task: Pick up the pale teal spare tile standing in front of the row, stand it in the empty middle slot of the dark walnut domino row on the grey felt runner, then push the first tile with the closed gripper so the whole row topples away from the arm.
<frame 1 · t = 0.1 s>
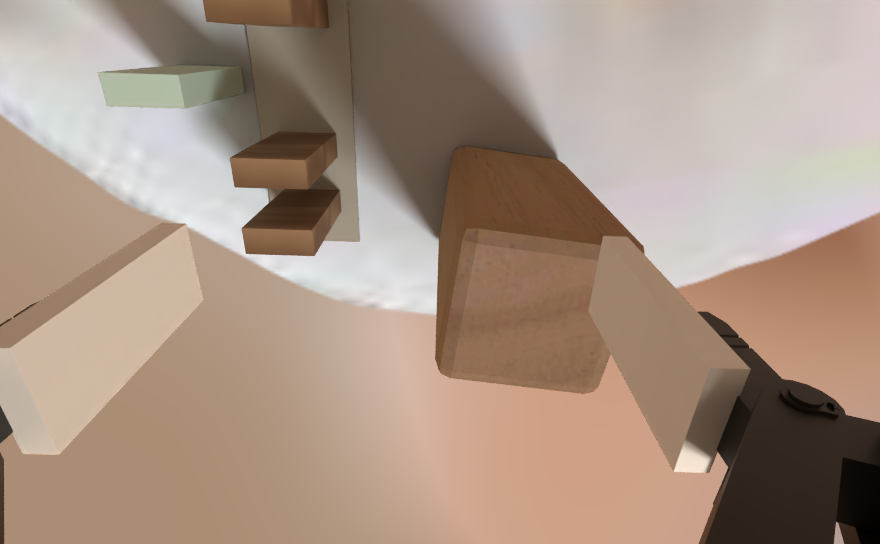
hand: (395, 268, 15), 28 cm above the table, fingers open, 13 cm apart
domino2: (295, 12, 36), resting on runner
block: (498, 203, 43), on the table
runner: (303, 82, 39), on the table
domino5: (313, 199, 43), resting on runner
spare: (212, 79, 39), on the table
domino4: (308, 144, 41), resting on runner
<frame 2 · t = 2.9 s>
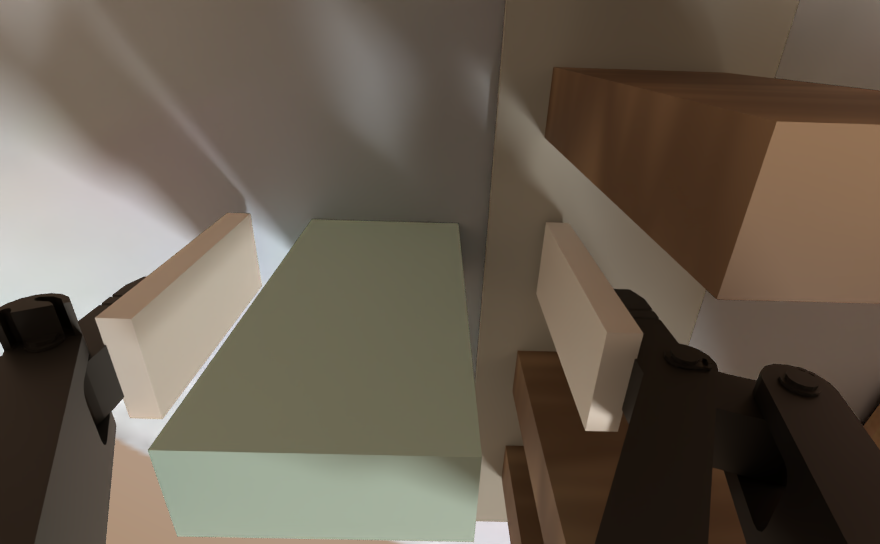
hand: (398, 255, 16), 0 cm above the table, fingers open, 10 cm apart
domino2: (631, 106, 14), resting on runner
runner: (598, 254, 16), on the table
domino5: (559, 463, 21), resting on runner
spare: (385, 248, 16), on the table
domino4: (578, 372, 18), resting on runner
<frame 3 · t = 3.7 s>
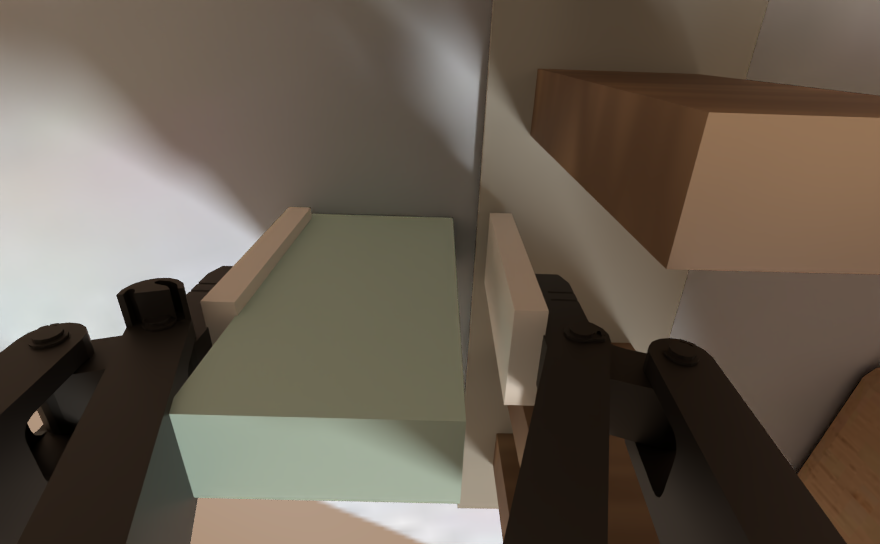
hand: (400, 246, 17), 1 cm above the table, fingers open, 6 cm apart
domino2: (612, 105, 15), resting on runner
runner: (583, 247, 17), on the table
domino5: (548, 450, 21), resting on runner
spare: (383, 241, 17), on the table, touching gripper
domino4: (565, 361, 19), resting on runner
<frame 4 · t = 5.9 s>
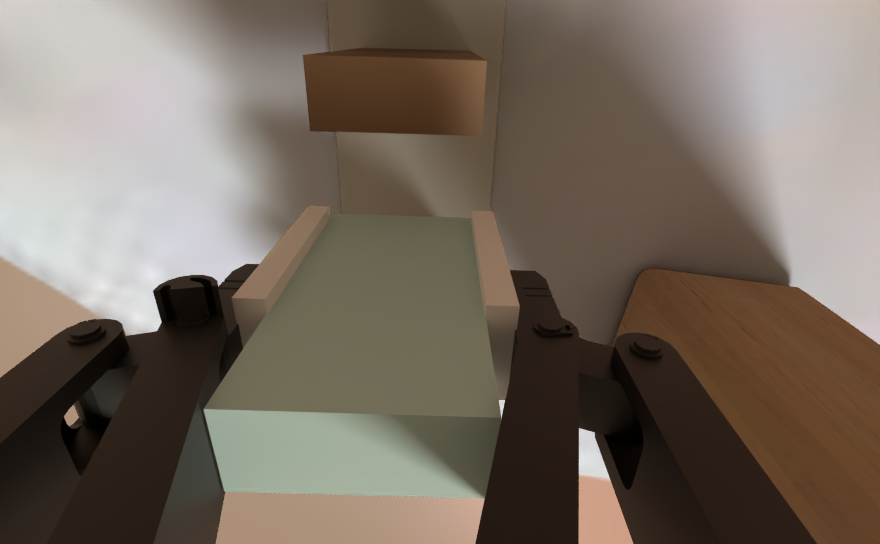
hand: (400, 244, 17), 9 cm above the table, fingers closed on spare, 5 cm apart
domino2: (416, 72, 22), resting on runner
block: (686, 339, 29), on the table
runner: (415, 175, 25), on the table
spare: (402, 241, 17), point 8 cm above the table, touching gripper
when the fingers open (1 cm above the table, at t = 7.6 s): spare stays where it is, resting on runner.
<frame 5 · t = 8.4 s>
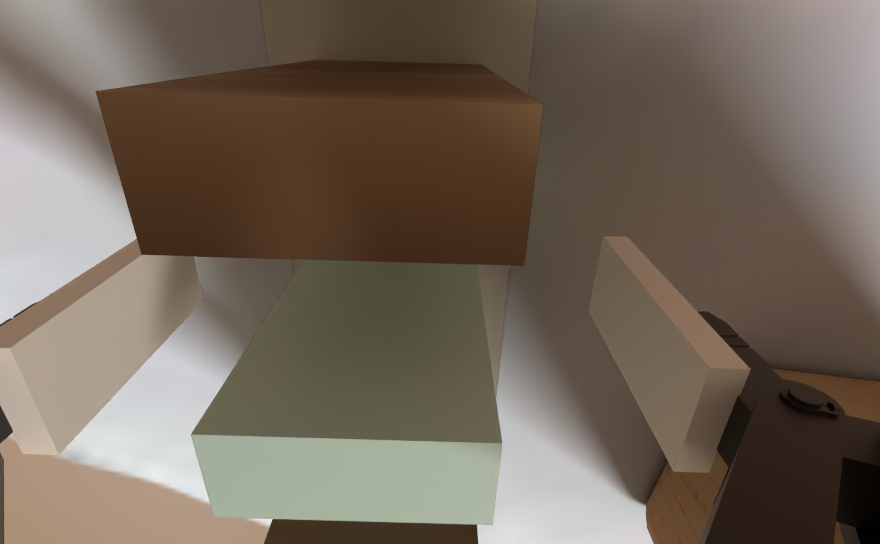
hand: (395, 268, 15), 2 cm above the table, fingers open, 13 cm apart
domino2: (399, 96, 15), resting on runner
block: (768, 448, 22), on the table
runner: (401, 241, 17), on the table
spare: (400, 248, 17), resting on runner
domino4: (402, 357, 19), resting on runner
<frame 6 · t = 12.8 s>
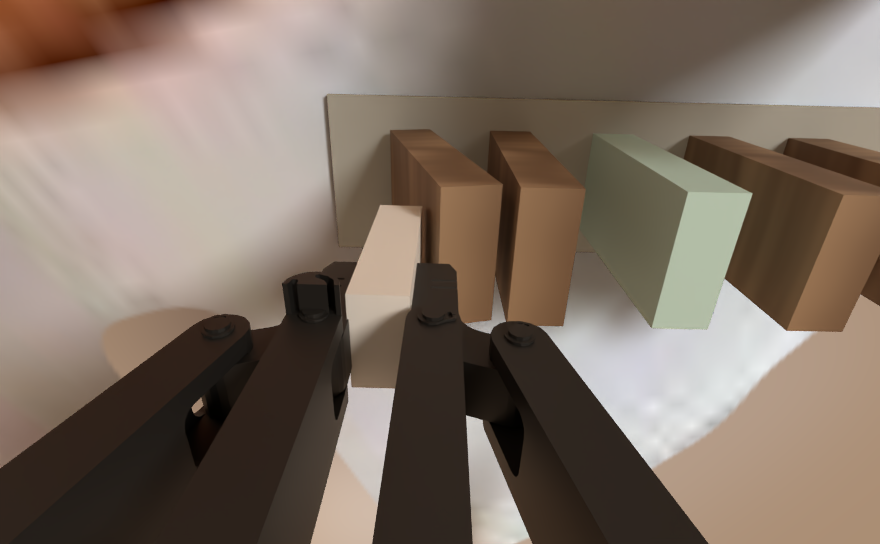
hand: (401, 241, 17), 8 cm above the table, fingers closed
domino1: (410, 179, 24), point 1 cm above the table, tilted 14°, touching runner
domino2: (505, 180, 24), resting on runner
runner: (599, 180, 25), on the table
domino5: (790, 186, 25), resting on runner
spare: (604, 182, 24), resting on runner
domino4: (696, 184, 25), resting on runner
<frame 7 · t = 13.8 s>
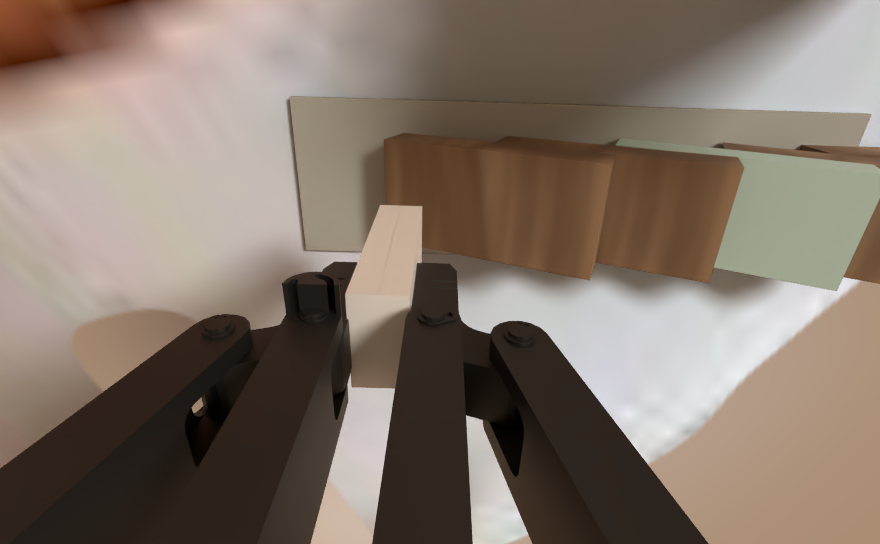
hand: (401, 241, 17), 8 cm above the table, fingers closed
domino1: (395, 187, 23), point 1 cm above the table, tilted 67°, touching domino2, runner
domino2: (497, 190, 23), point 1 cm above the table, tilted 67°, touching domino1, runner, spare
runner: (567, 185, 24), on the table
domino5: (796, 199, 23), point 1 cm above the table, tilted 90°, touching domino4, runner
spare: (608, 192, 23), point 1 cm above the table, tilted 65°, touching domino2, domino4, runner
domino4: (708, 196, 23), point 1 cm above the table, tilted 64°, touching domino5, spare
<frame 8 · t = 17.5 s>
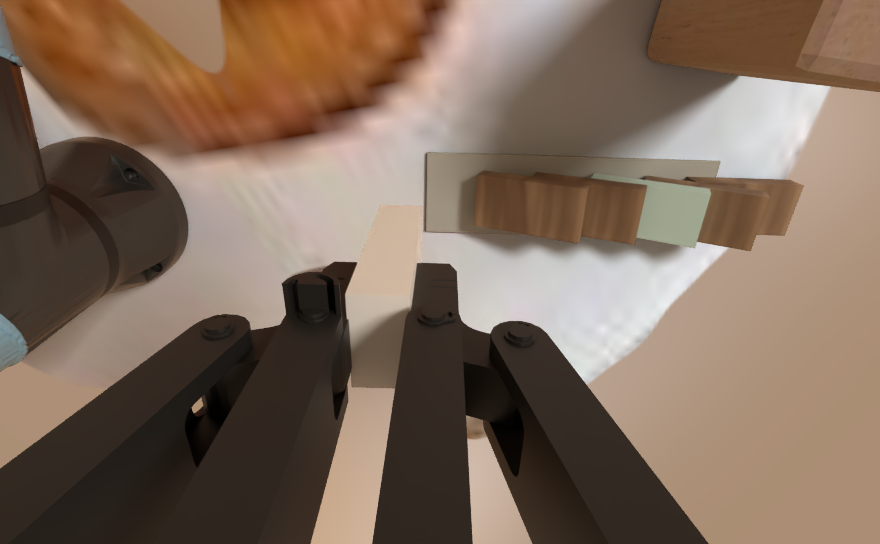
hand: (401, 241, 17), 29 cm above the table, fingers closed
domino1: (478, 198, 45), point 1 cm above the table, tilted 67°, touching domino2, runner
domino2: (531, 199, 46), point 1 cm above the table, tilted 67°, touching domino1, runner, spare
block: (715, 4, 39), on the table
runner: (567, 196, 47), on the table
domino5: (684, 204, 45), point 1 cm above the table, tilted 90°, touching domino4, runner
spare: (588, 200, 46), point 1 cm above the table, tilted 65°, touching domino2, domino4, runner
domino4: (639, 203, 45), point 1 cm above the table, tilted 65°, touching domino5, spare
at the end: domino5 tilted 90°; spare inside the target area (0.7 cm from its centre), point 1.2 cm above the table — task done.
